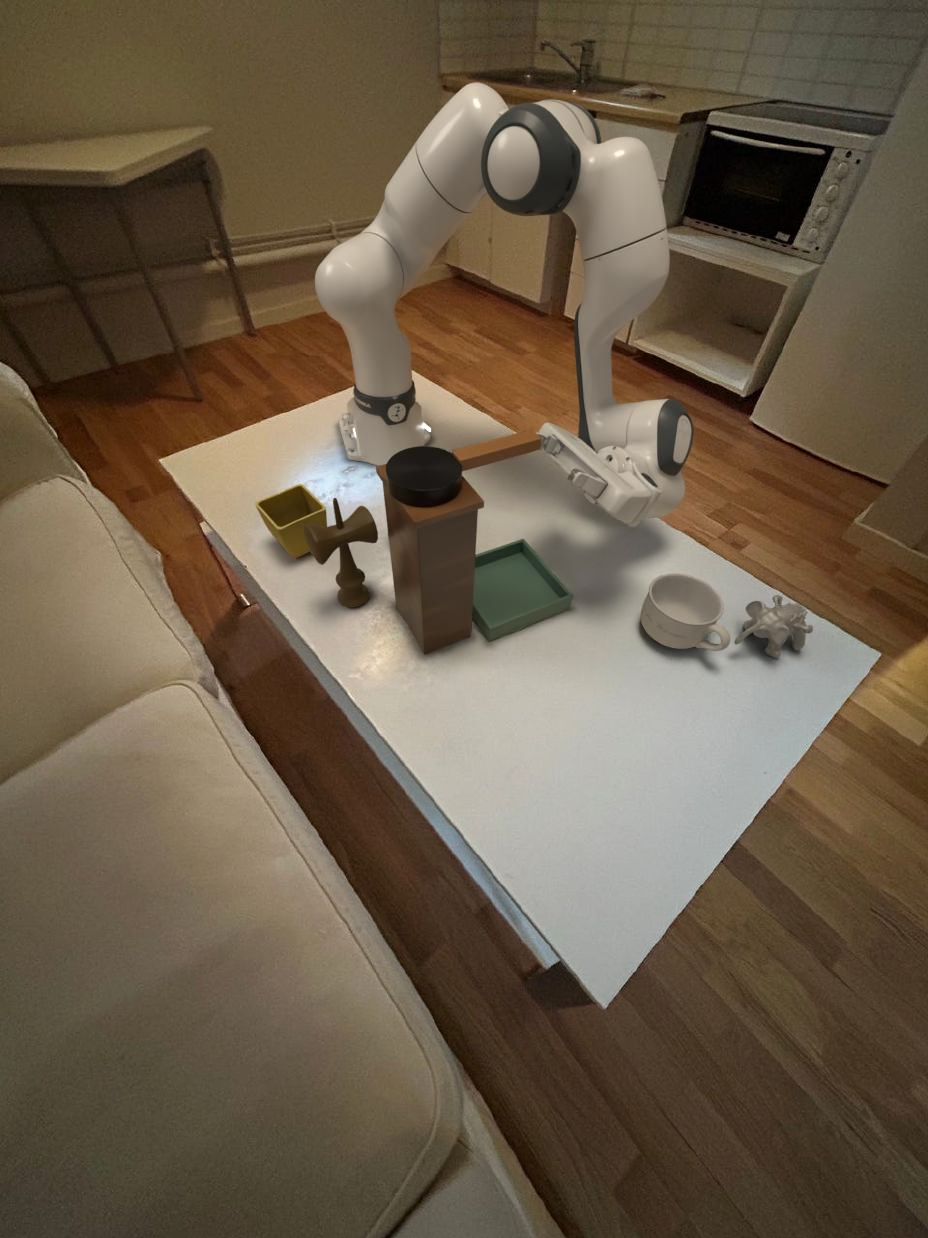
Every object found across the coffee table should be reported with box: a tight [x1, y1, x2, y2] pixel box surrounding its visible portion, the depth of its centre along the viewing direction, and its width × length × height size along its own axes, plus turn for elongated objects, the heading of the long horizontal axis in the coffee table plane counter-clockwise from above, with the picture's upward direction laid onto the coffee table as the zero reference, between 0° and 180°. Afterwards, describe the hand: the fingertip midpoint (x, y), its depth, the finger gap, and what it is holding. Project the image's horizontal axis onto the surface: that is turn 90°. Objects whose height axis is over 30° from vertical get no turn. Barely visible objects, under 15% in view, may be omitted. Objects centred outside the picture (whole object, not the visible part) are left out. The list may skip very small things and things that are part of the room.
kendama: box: [303, 497, 379, 608], centre depth 81 cm, size 6×10×20 cm, turn 122°
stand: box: [375, 464, 485, 655], centre depth 76 cm, size 12×9×26 cm
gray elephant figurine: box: [733, 594, 814, 659], centre depth 81 cm, size 9×12×8 cm
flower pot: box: [254, 483, 328, 559], centre depth 92 cm, size 9×9×9 cm
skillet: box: [386, 428, 542, 507], centre depth 66 cm, size 9×20×3 cm, turn 117°
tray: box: [472, 538, 574, 642], centre depth 89 cm, size 15×15×3 cm
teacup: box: [640, 572, 731, 652], centre depth 81 cm, size 14×11×8 cm
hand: (552, 457), depth 73 cm, fingers open, 8 cm apart
